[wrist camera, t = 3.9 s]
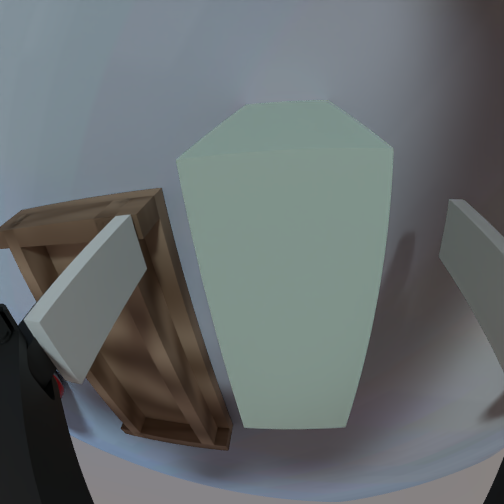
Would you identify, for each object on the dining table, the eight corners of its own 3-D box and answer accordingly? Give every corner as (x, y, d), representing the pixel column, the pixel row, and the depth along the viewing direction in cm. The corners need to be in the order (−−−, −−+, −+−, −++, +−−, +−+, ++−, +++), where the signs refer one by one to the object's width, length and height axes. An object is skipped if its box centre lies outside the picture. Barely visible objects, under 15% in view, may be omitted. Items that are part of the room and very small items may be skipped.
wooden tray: (21, 210, 17) (-7, 232, 14) (161, 187, 15) (136, 214, 12) (133, 411, 29) (125, 433, 27) (232, 424, 27) (228, 450, 25)
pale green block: (244, 104, 12) (173, 159, 5) (327, 100, 12) (393, 148, 4) (264, 275, 17) (242, 427, 10) (329, 273, 17) (345, 427, 9)
